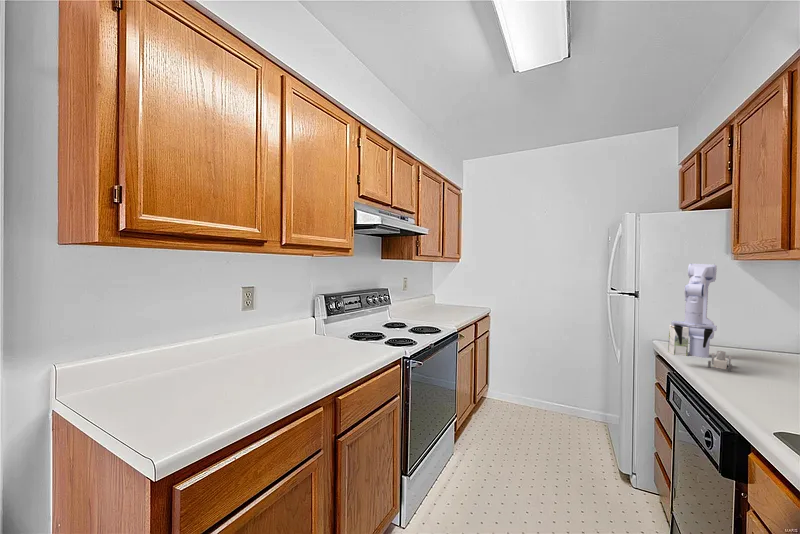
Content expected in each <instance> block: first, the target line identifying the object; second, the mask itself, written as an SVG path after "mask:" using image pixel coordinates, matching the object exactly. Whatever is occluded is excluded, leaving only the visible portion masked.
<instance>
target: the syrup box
mask: <svg viewBox="0 0 800 534" xmlns="http://www.w3.org/2000/svg"><path fill="white" fill-rule="evenodd" d="M688 347H689V327H683V331H682V344H679V339H678V336H677V333H676V331H675V329H674V326H671V323H669V328H668V347H667V353H670V354H671V355H673V356H681V357H688V353H689V352H688V351H689V348H688Z"/></svg>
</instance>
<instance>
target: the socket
mask: <svg viewBox="0 0 800 534" xmlns="http://www.w3.org/2000/svg"><path fill="white" fill-rule="evenodd" d="M711 362H712V360H708V362H707V368H708V369H711V368H712V364H711ZM732 366H733V365H732V363H731V364H729V367H728V372H732Z"/></svg>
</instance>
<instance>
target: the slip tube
mask: <svg viewBox="0 0 800 534" xmlns="http://www.w3.org/2000/svg"><path fill="white" fill-rule="evenodd" d="M728 362H729V357H728V358H727V357H726V351H724V350H716V356H714V364H713V365H712V366H713V368H715V369H722V370H727V368H728Z"/></svg>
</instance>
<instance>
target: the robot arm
mask: <svg viewBox="0 0 800 534" xmlns="http://www.w3.org/2000/svg"><path fill="white" fill-rule="evenodd" d="M687 267H688V268H687V276H688V278H689V280H688V283H687V284H685V285H684V289H683V290H684V301H685V305H684V306H685V307H684V308H685V309H684V321H677V320H671V323H670V324H671V326H674V329H675V331H676V333H677V336H678V339H679V344H682V331H683V327H689V336H688V338H689V346H688V347H689V348H688V351H689V352H688V354H689V356H693V357H695V358H696V357H697V358H701V359H702V358H704V359H707V358H710V357H712V354H711V355H710V346H711V345H710V341H711V340H712V339H714V335H715V332H717V328H718V327H717V325H715V323H714V321H712V320H711V319H710V318H708V300H709V299H708V298H709V287H710V284H711V283H713V282H715V281H716V280H717V271H718V270H717V269H718V268H717V267H718V266H717V264H715V263H711V264H709V263H689V264H688V266H687Z"/></svg>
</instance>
